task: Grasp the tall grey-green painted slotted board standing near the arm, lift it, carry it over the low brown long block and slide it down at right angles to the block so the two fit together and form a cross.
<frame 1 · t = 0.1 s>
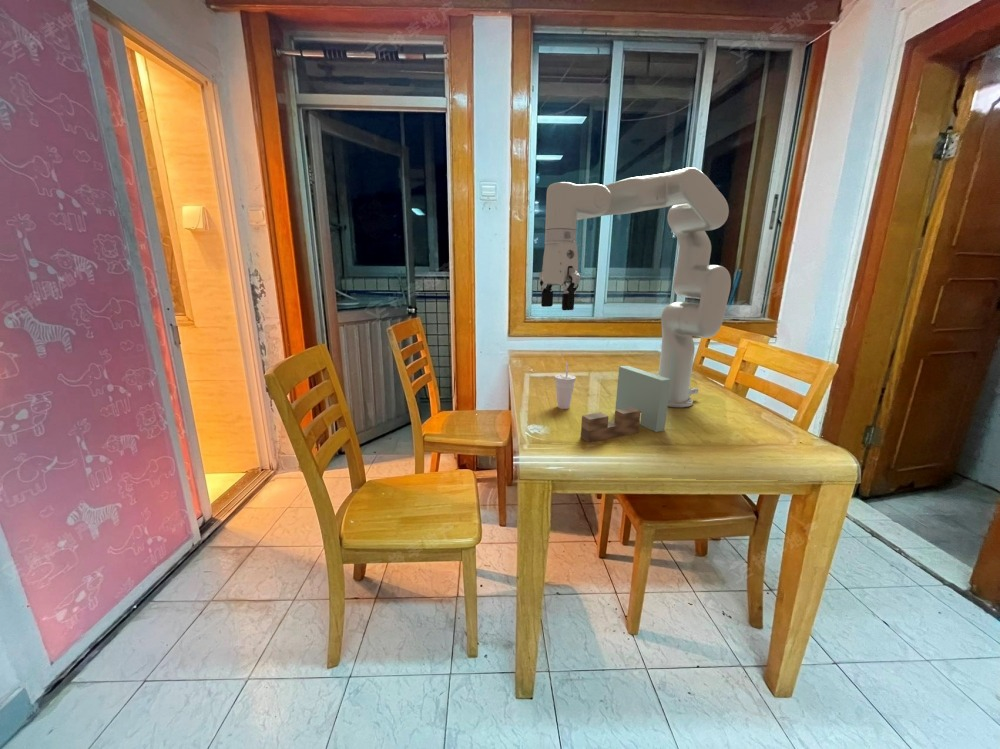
hand: (556, 308, 103), 31 cm above the table, fingers open, 9 cm apart
brown long block: (610, 435, 103), on the table
cross plate: (638, 420, 113), on the table
smoothie: (563, 407, 123), on the table
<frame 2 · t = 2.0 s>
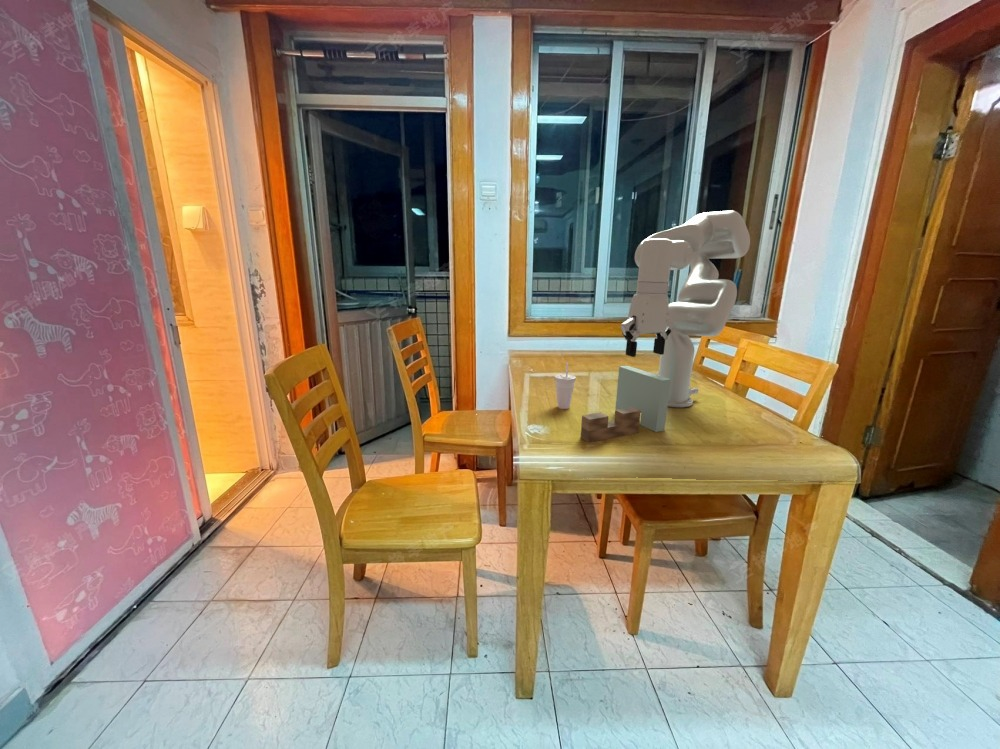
hand: (644, 354, 108), 19 cm above the table, fingers open, 9 cm apart
nothing on the table moved.
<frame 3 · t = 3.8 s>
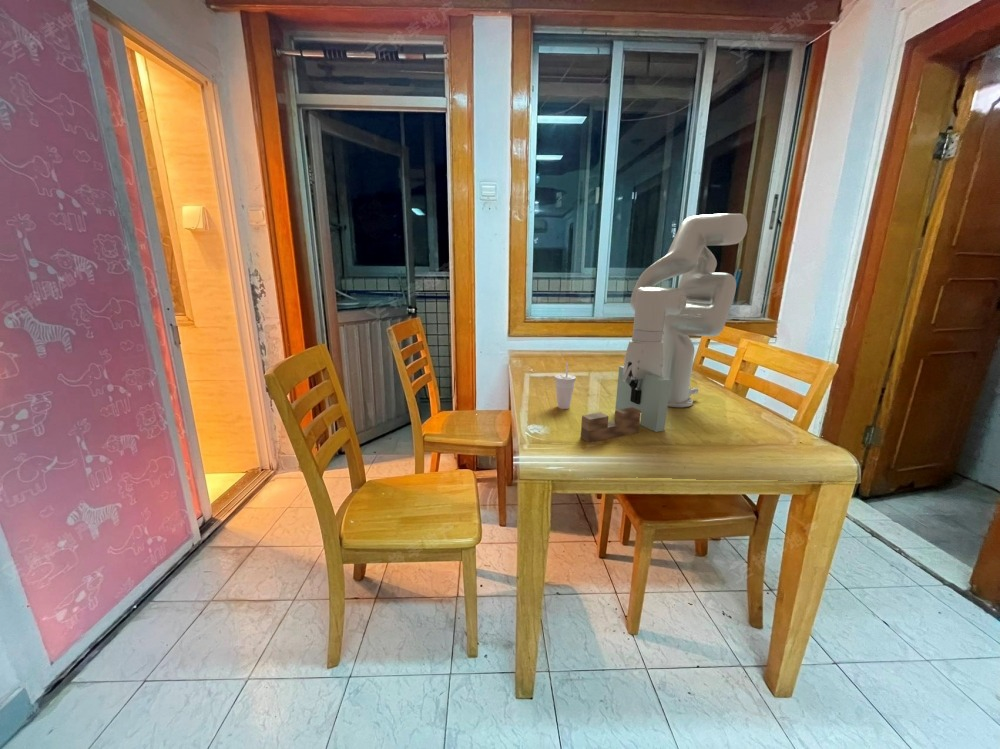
hand: (640, 401, 111), 6 cm above the table, fingers closed on cross plate, 3 cm apart
cross plate: (638, 420, 113), on the table, touching gripper
everything else where it was.
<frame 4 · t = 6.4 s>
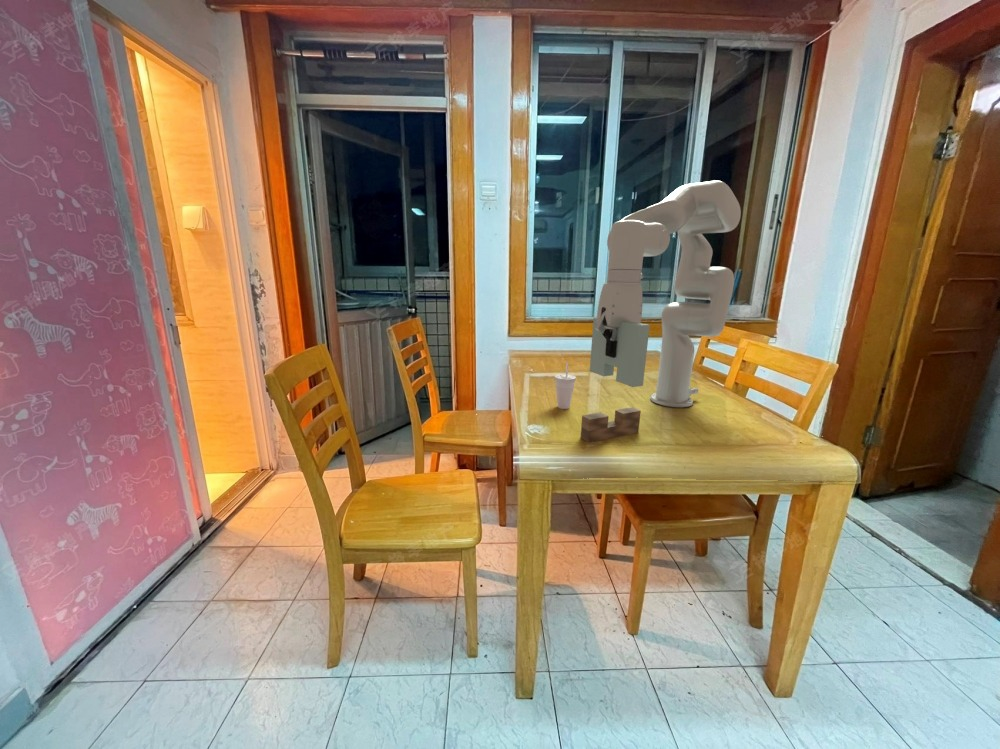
hand: (616, 355, 97), 21 cm above the table, fingers closed on cross plate, 3 cm apart
cross plate: (614, 378, 99), point 15 cm above the table, touching gripper
everything else where it was.
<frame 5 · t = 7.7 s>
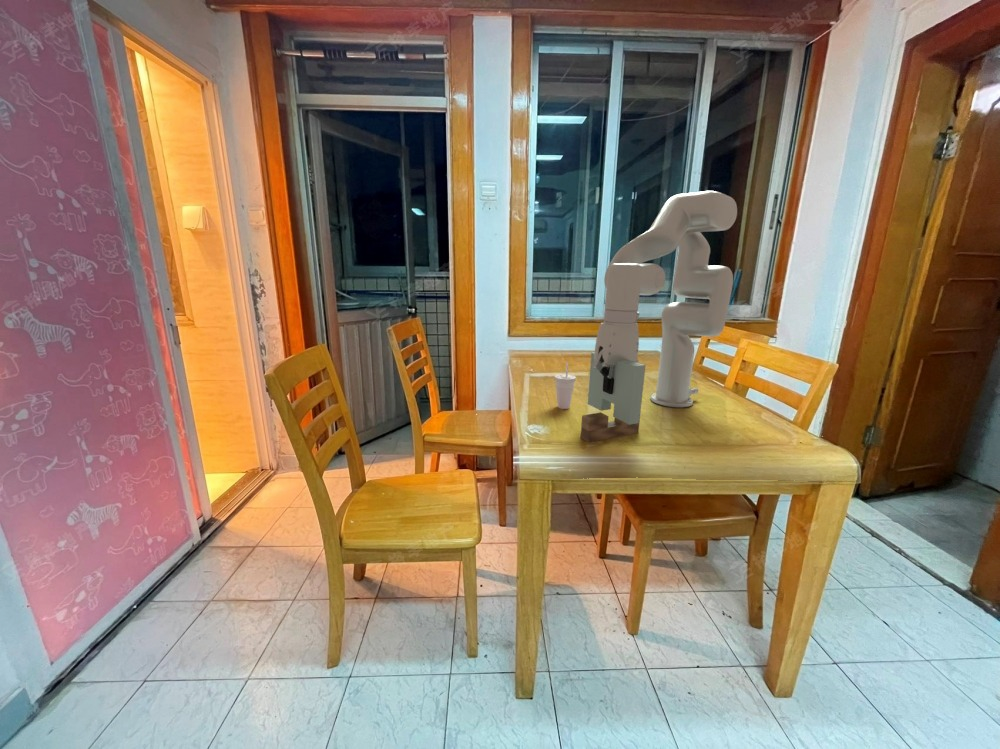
hand: (613, 391, 100), 12 cm above the table, fingers closed on cross plate, 3 cm apart
cross plate: (611, 412, 101), point 6 cm above the table, touching gripper
everything else where it was.
when the fingers open (7 cm above the table, at t = 8.9 s): cross plate drops 1 cm, on the table.
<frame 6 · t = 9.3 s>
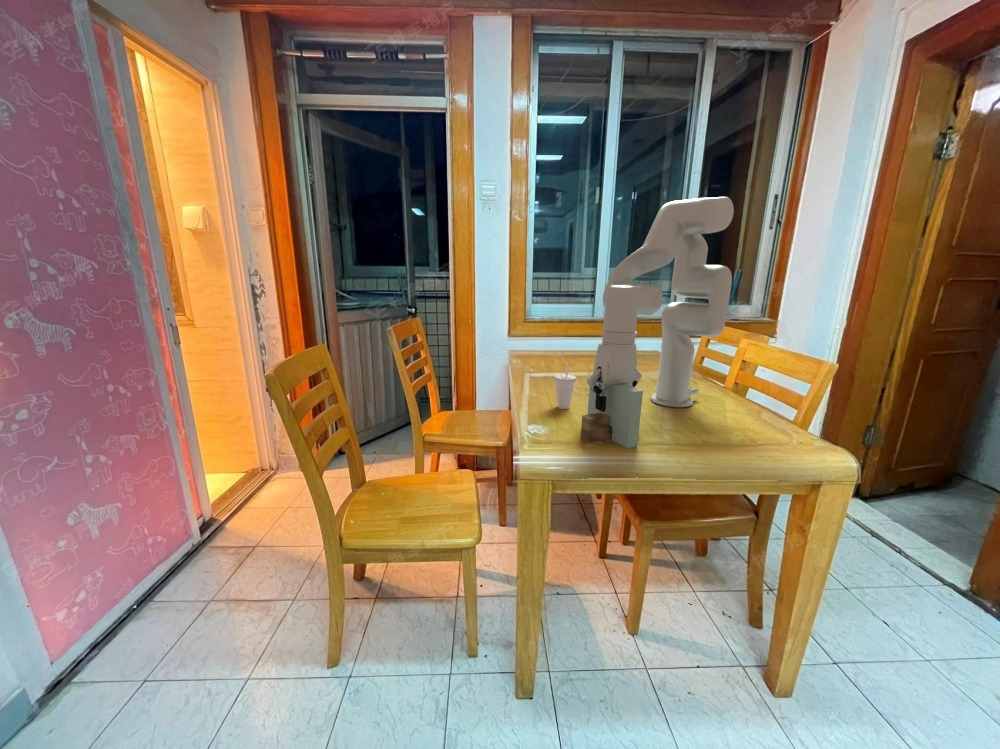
hand: (612, 407, 101), 7 cm above the table, fingers open, 7 cm apart
cross plate: (610, 435, 103), on the table
everything else where it was.
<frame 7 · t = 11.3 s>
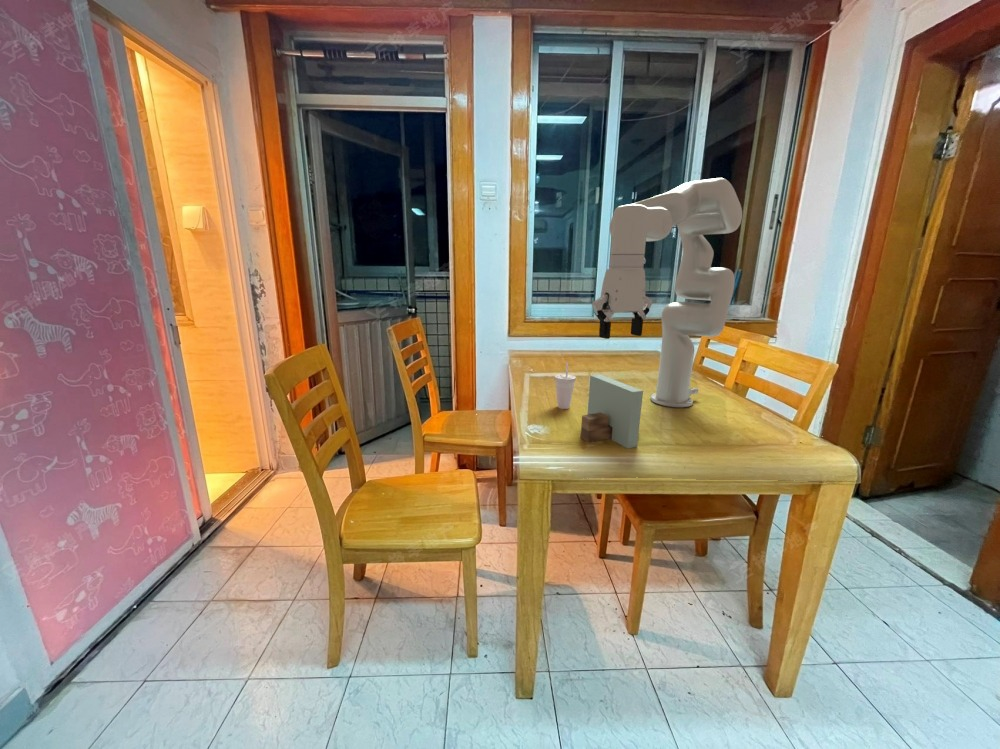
hand: (620, 336, 97), 25 cm above the table, fingers open, 9 cm apart
nothing on the table moved.
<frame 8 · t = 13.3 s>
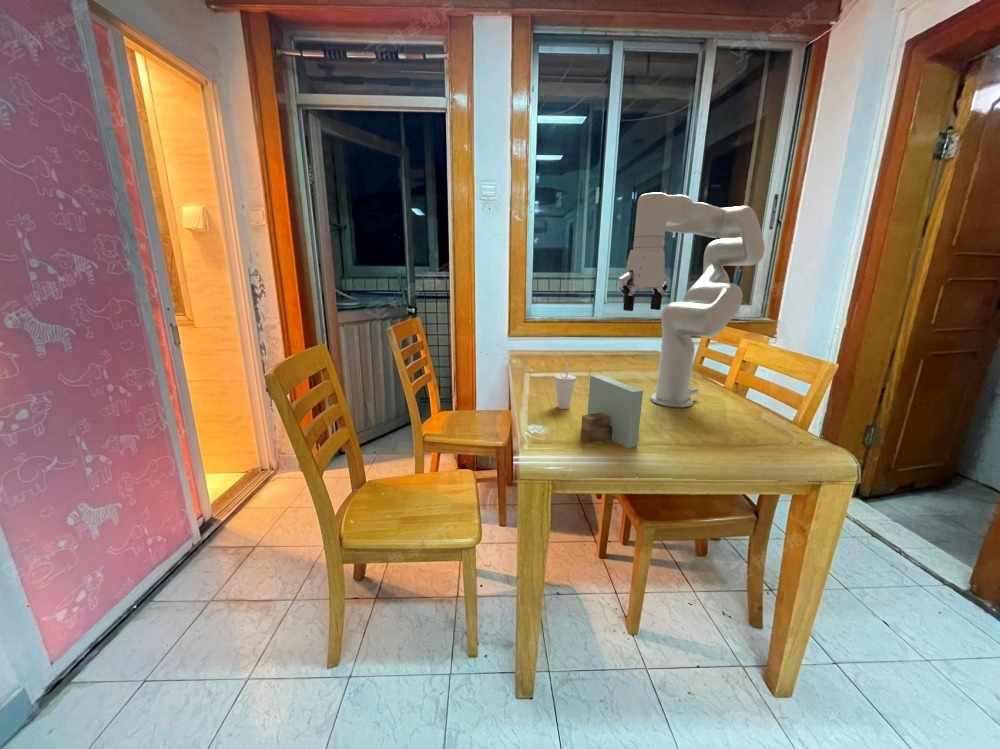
hand: (641, 310, 110), 30 cm above the table, fingers open, 9 cm apart
nothing on the table moved.
at the end: cross plate 0.1 cm off-centre on the brown long block, point 0.0 cm above the brown long block's base; cross plate tilted 0°; the gripper is holding nothing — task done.
